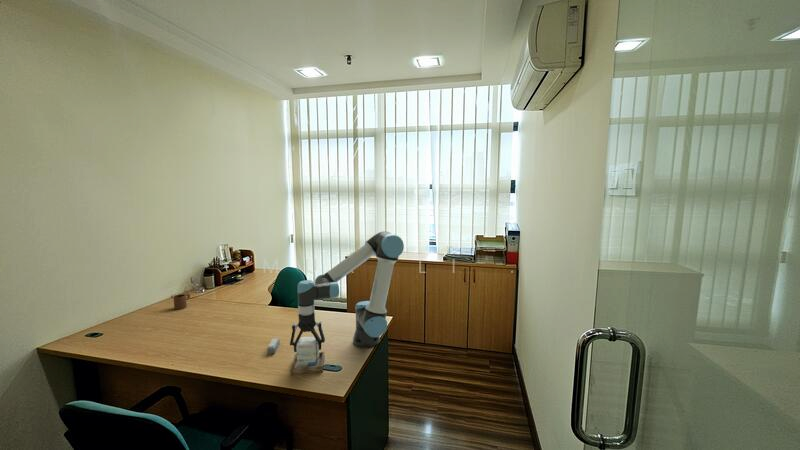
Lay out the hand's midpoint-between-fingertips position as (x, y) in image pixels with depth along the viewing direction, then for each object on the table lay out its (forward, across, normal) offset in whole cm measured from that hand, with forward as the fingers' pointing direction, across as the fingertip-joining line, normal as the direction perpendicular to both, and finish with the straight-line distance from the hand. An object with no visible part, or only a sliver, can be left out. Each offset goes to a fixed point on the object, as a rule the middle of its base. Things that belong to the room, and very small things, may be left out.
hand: (308, 356), depth 154 cm
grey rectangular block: (+5, +20, -20) cm, 29 cm away
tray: (+5, 0, 0) cm, 5 cm away
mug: (+5, +101, -100) cm, 142 cm away
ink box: (+3, 0, 0) cm, 3 cm away
